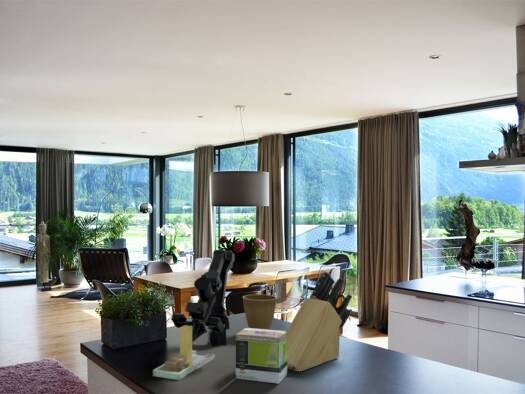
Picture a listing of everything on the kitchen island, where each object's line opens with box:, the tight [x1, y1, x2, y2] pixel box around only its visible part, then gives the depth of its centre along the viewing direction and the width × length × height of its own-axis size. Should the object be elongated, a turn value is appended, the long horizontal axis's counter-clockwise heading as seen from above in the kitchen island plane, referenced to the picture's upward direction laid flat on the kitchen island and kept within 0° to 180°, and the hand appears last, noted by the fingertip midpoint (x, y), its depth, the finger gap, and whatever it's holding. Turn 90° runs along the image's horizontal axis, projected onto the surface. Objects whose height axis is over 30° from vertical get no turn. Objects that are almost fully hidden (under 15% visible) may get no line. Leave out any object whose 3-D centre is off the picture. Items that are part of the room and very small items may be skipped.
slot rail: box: [188, 349, 216, 372], centre depth 175 cm, size 16×10×3 cm, turn 159°
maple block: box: [170, 354, 188, 370], centre depth 167 cm, size 4×4×4 cm
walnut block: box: [164, 358, 182, 373], centre depth 163 cm, size 4×4×4 cm
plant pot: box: [242, 294, 278, 330], centre depth 219 cm, size 15×15×16 cm
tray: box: [152, 363, 194, 381], centre depth 163 cm, size 10×10×3 cm
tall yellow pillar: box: [179, 325, 193, 365], centre depth 170 cm, size 4×5×13 cm
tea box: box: [235, 327, 288, 384], centre depth 164 cm, size 15×10×15 cm, turn 71°
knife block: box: [286, 271, 353, 373], centre depth 183 cm, size 11×35×31 cm, turn 137°
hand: (188, 343), depth 172 cm, fingers closed, pressing on tall yellow pillar
